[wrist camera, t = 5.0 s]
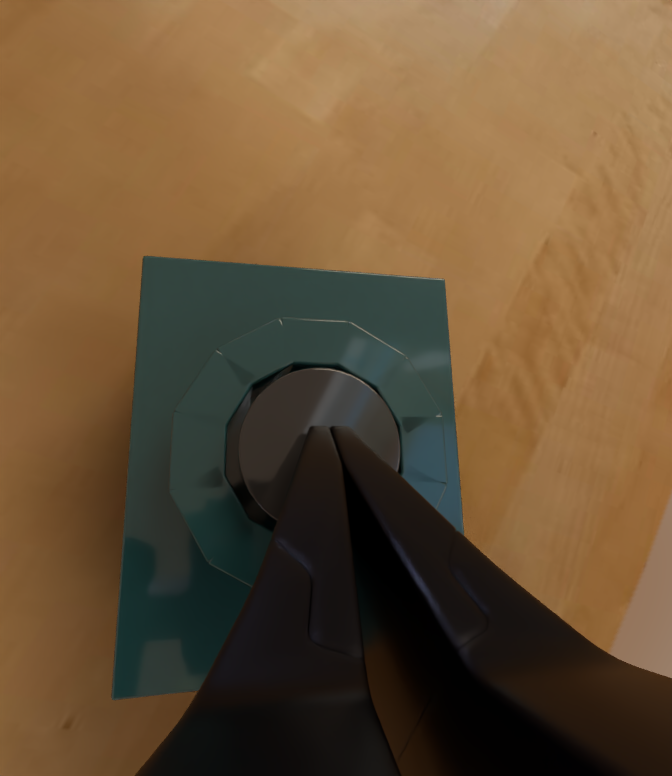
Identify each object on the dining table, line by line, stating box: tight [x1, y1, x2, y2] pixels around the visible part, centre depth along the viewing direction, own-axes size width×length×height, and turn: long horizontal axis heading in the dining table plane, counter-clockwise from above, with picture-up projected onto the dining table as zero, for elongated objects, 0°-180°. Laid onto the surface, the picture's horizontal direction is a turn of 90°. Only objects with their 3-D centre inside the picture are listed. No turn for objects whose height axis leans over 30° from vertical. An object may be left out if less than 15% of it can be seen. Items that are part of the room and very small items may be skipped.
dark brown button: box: [238, 368, 400, 521], centre depth 11 cm, size 4×4×2 cm
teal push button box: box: [111, 256, 464, 700], centre depth 15 cm, size 11×9×9 cm
